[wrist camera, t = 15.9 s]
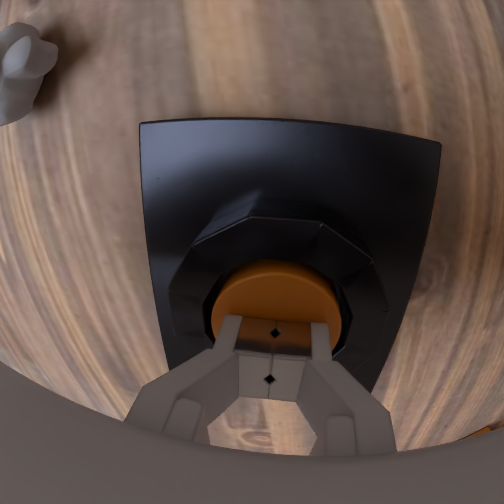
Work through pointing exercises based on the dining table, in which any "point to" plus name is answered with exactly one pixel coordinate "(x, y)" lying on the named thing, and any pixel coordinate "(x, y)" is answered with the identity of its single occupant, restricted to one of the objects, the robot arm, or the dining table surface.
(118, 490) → the robot arm
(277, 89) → the dining table surface
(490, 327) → the dining table surface
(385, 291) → the button block
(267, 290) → the button
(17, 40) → the grey rounded figurine
